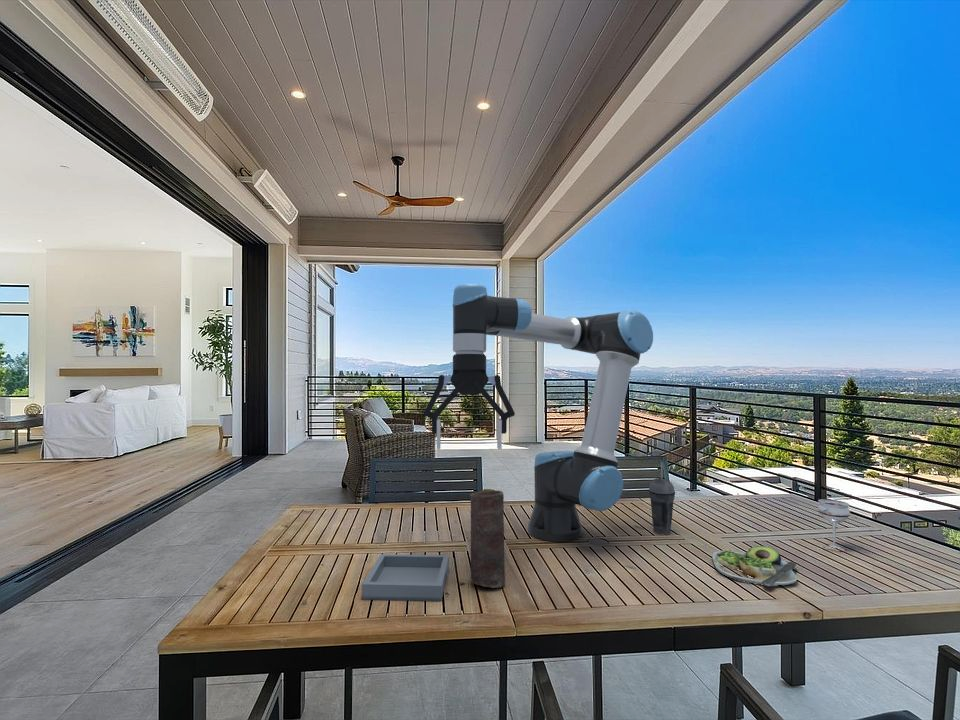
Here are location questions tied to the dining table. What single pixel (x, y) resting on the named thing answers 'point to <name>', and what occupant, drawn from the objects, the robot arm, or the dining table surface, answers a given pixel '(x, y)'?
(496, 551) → the brown rough cylinder
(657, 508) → the beverage cup
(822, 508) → the wineglass
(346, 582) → the dining table surface
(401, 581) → the tray
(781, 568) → the salad plate
